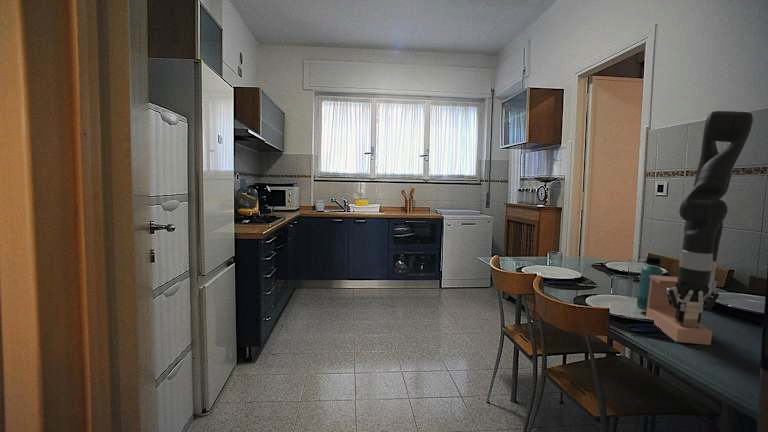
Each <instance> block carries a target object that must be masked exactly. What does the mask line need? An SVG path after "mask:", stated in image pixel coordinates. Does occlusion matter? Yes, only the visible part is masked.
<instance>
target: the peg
mask: <svg viewBox="0 0 768 432" xmlns="http://www.w3.org/2000/svg"><path fill="white" fill-rule="evenodd" d="M683 300H684V299H683ZM699 308H700V303H698V301H694V300H690V301H689V302H687V304H686V307H685V310H684V312H685V313H684V320H683V323H679V322H677V324H679V325H680V326H682V327H687V328H697V322H698V315H699Z"/></svg>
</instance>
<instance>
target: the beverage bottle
mask: <svg viewBox="0 0 768 432" xmlns="http://www.w3.org/2000/svg"><path fill="white" fill-rule="evenodd" d="M645 263H647V265H644V266H642V267H641V271H640V276H639V284H638V285H639V286H638V293H637V298H636V299H637V301H636V306H637V307H636V308H638V309H639V310H642V311H646V312H647V305H648V297H649V289H650V281H651V279H650V278H649V276H650V275H659V276H663V273H664V271H663V269H662V268H661V267H660V266H657V265H661V257H658V256H652V255H651V256H650V255H647V256H646V259H645Z"/></svg>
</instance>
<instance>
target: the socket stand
mask: <svg viewBox="0 0 768 432" xmlns="http://www.w3.org/2000/svg"><path fill="white" fill-rule="evenodd" d="M677 277H678V276H673V275H672V276H671V275H662V276H659V275H650V276H649V278H650V279H651V281H650V289H649V297H648V305H647V311H646V315H645V318H646V317H648V318H651V319H653V320H654V324H655V325H656V326H657V327H656V326H655V325H654V324H653V325H654V326H655V327H656V328H658V327H659V328H660V329H661V330H662V331H661V330H660V329H659V328H658V329H659V330H660V331H661V332H662V333H664V334H665V335H667V336H668V337H669V338H670V339H672V340H673V341H674V342H676V343H686V344H697V345H706V346H707V345H710V346H711V343H712V337H713V331H712V330H711V329H710V328H708V327H705V325H703V324H702V323H700V322H699V323H698V324H697V328H687V327H682V326H680V325H679V324H677V322H678V321H677V320H676V319H675V315H676V309H675V308H674V307H672V306H670V305H669V301H668V298H667V295H666V292H665V288H666V287H668V288H672V287H675V285H676V284H677V282H678V280H677ZM678 296H679V293H678V292H677V291H676V295H675V297H676V300H677V298H678ZM677 301H678V300H677Z"/></svg>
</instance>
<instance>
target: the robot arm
mask: <svg viewBox="0 0 768 432" xmlns="http://www.w3.org/2000/svg"><path fill="white" fill-rule="evenodd" d="M753 120H754V116H753V114H752V113H751V112H747V111H733V110H732V111H730V110H728V111H726V110H715V111H714V110H713V111H711V112H710V113H709V114H708V115H707V117H706V119H705V122H704V126H703V127H704V128H703V135H702V141H701V142H702V143H701V151H700V156H699V157H700V158H699V163H698V166H697V169H696V174H695V179H694V183H693V188H692V190H690V192H689V193H687V196H686V197H685V198H684V199H683V201H682V202H681V204H680V206H679V210H678V211H679V216H680V218H681V219H682V220H684V221H685V223H684V227H683V242H682V247H681V248H682V249H681V253H680V257H679V262H678V269H677V270H678V272H677V276H676V277H677V280H678V282H677V284H676V285H675V287H672V288H668V287H666V288H665V292H666V295H667V298H668V301H669V305H670V306H672V307H674V308H675V309H676V315H675V319H676V320H677V321H678V322H679V323H683V320H684V313H685V312H684V310H685V307H686V304H687V302H689V301H690V300H694V301H698V303H700V308H699V315H698V322H697V324H698V323H699V324H700V323H701V318H702V313H704V312H710V311H711V309H712V308H713V307H714V304H715V303H716V301H717V299H719V296H720V293H718V292H716V288H717V281H716V280H715V275H716V268H717V261H718V255H719V248H720V247H719V246H720V242H721V239H722V238H721V237H722V235H723V228H724V223H723V222H724V220H725V218H726V216H727V214H728V211H729V210H728V205H727V203H726V202H725V201H724V200H723V199H722V198H723V197H724V196H725V195H726V194H727V192H728V190H729V187H730V183H731V178H732V171H733V169H734V166H735V164H736V163H737V161H738V158H739V157H740V155H741V153H742V151H743V148H744V146H745V144H747V143H746V142H747V140H748V138H749V136H750V132H751V129H752V126H753V122H754V121H753ZM717 142H724V143H730V144H729V145H728V146H726V147H725V148H724V149H723V150H722V151H721V152H719V151H718V147H717ZM676 291H677V292H678V293H679V296H678V298H677V300H678V301H677V300H676V297H675V295H676ZM683 299H684V300H683Z"/></svg>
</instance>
